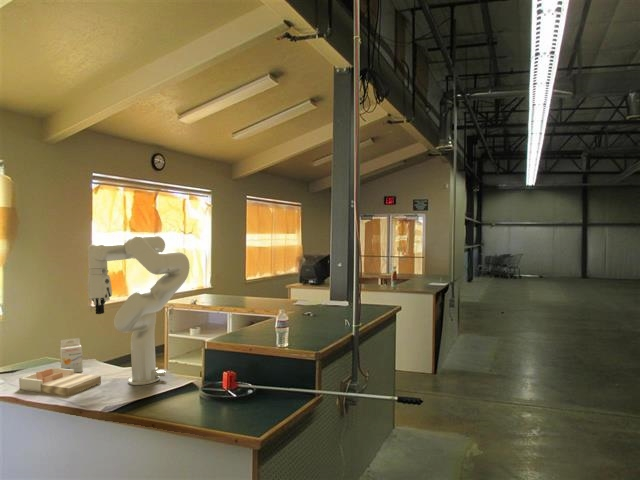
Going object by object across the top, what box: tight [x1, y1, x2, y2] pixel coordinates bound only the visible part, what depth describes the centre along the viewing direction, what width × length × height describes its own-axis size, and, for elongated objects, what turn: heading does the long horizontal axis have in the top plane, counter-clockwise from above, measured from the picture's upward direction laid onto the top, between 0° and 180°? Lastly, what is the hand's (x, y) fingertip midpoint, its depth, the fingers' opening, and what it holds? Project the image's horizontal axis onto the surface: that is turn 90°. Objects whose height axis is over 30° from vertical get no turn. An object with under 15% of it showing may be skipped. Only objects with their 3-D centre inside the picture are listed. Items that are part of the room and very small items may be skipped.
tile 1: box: [35, 367, 53, 384], centre depth 206 cm, size 5×5×3 cm
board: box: [40, 372, 102, 397], centre depth 201 cm, size 15×16×3 cm
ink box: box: [59, 337, 84, 373], centre depth 223 cm, size 8×5×15 cm, turn 123°
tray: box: [18, 367, 74, 393], centre depth 206 cm, size 12×16×4 cm
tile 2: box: [43, 373, 63, 383], centre depth 205 cm, size 5×5×3 cm
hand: (100, 313), depth 217 cm, fingers closed
